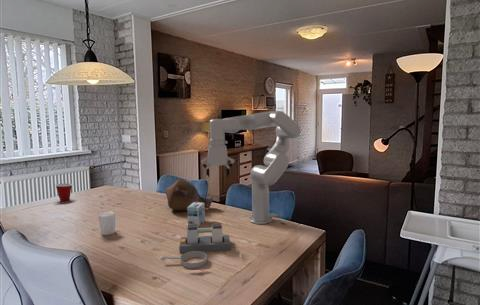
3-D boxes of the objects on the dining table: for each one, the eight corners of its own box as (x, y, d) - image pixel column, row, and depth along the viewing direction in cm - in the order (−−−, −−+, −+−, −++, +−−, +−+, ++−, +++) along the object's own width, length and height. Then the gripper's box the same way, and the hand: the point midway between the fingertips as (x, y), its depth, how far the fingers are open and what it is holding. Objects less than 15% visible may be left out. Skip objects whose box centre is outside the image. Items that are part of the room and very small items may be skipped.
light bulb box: (199, 227, 167) (198, 207, 166) (187, 226, 168) (186, 207, 167) (205, 220, 177) (204, 202, 176) (194, 219, 179) (193, 201, 177)
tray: (216, 232, 159) (216, 227, 159) (217, 240, 149) (216, 235, 148) (194, 233, 158) (194, 228, 158) (193, 241, 147) (193, 236, 147)
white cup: (119, 230, 163) (118, 212, 161) (108, 236, 155) (107, 217, 154) (107, 229, 165) (106, 211, 164) (96, 234, 158) (94, 215, 156)
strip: (229, 243, 146) (228, 233, 145) (230, 252, 136) (230, 242, 135) (181, 245, 143) (181, 236, 143) (179, 255, 134) (179, 245, 133)
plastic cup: (76, 200, 222) (75, 183, 221) (59, 203, 214) (58, 186, 213) (70, 197, 230) (69, 181, 228) (54, 200, 222) (52, 184, 220)
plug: (222, 243, 143) (221, 222, 141) (222, 248, 138) (222, 226, 137) (212, 244, 142) (211, 223, 141) (212, 248, 138) (211, 226, 136)
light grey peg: (198, 245, 141) (197, 223, 140) (197, 249, 137) (197, 227, 136) (188, 245, 141) (187, 224, 140) (187, 249, 136) (186, 228, 135)
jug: (159, 213, 191) (207, 222, 190) (161, 184, 184) (211, 193, 183) (169, 198, 210) (213, 206, 209) (171, 171, 203) (216, 179, 202)
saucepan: (206, 271, 120) (206, 262, 120) (159, 272, 119) (159, 263, 119) (208, 258, 131) (208, 249, 130) (165, 259, 130) (165, 250, 130)
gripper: (233, 142, 163) (233, 174, 165) (200, 142, 161) (201, 175, 163) (234, 143, 156) (235, 177, 158) (200, 144, 154) (201, 178, 156)
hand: (217, 176), depth 161 cm, fingers open, 9 cm apart
